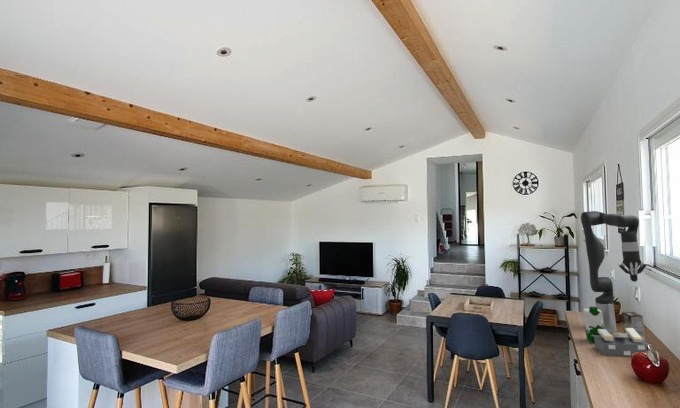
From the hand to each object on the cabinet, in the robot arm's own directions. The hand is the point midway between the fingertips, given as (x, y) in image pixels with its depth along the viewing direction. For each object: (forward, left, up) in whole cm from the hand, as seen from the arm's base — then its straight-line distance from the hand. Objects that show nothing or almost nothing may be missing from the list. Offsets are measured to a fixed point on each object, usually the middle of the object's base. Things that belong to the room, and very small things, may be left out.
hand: (634, 281), depth 205 cm
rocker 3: (+11, -8, -26) cm, 29 cm away
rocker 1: (+11, -20, -26) cm, 35 cm away
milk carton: (-6, -20, -35) cm, 41 cm away
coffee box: (-5, -1, -35) cm, 36 cm away
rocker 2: (+11, -14, -26) cm, 32 cm away
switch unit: (+11, -14, -35) cm, 39 cm away
